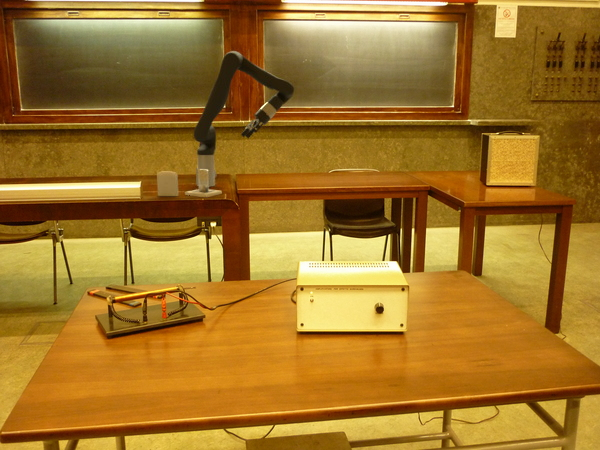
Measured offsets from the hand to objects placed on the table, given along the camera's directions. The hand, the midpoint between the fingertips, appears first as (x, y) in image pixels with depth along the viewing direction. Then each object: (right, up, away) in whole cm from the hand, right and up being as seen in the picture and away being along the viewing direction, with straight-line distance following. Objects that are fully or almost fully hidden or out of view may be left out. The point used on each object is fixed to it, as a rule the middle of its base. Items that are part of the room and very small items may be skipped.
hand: (244, 136), depth 297 cm
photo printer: (-37, -31, -8) cm, 49 cm away
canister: (-20, -28, -3) cm, 35 cm away
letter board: (-20, -30, -3) cm, 36 cm away
